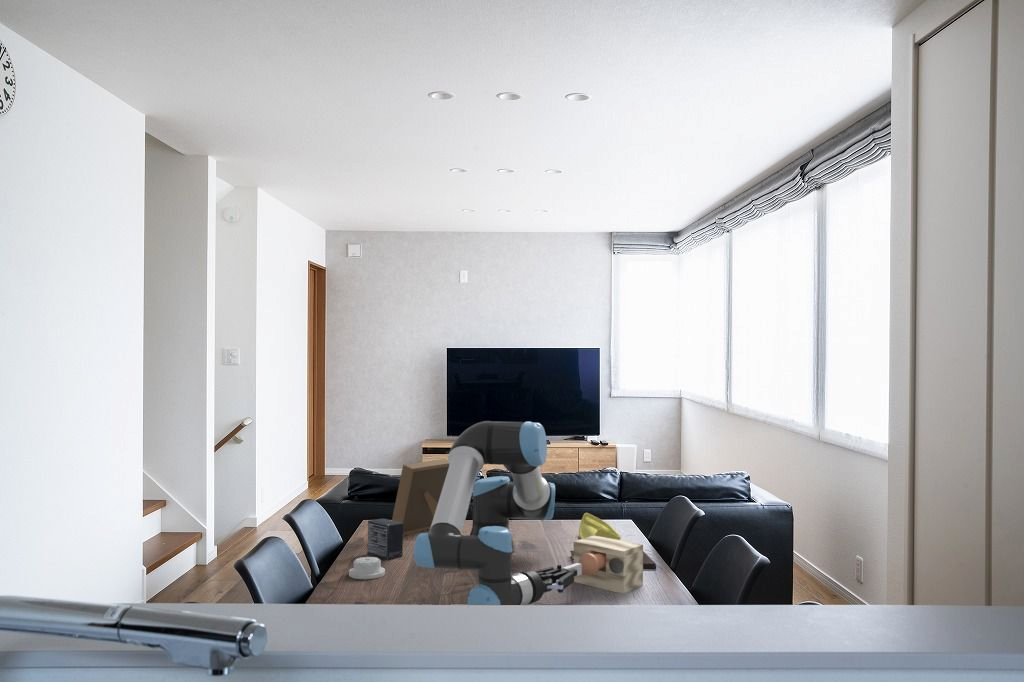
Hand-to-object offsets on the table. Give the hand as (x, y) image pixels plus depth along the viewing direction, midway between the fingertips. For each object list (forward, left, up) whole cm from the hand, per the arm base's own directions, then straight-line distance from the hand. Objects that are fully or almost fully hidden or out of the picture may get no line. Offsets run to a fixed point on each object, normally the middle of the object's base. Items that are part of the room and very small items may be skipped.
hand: (579, 568), depth 190 cm
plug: (+7, +7, -3) cm, 10 cm away
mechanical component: (-57, +22, -7) cm, 61 cm away
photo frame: (-41, +73, -7) cm, 84 cm away
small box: (-53, +43, -7) cm, 69 cm away
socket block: (+10, +10, -7) cm, 16 cm away
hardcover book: (+16, +31, -8) cm, 36 cm away
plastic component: (+18, +61, -7) cm, 64 cm away
